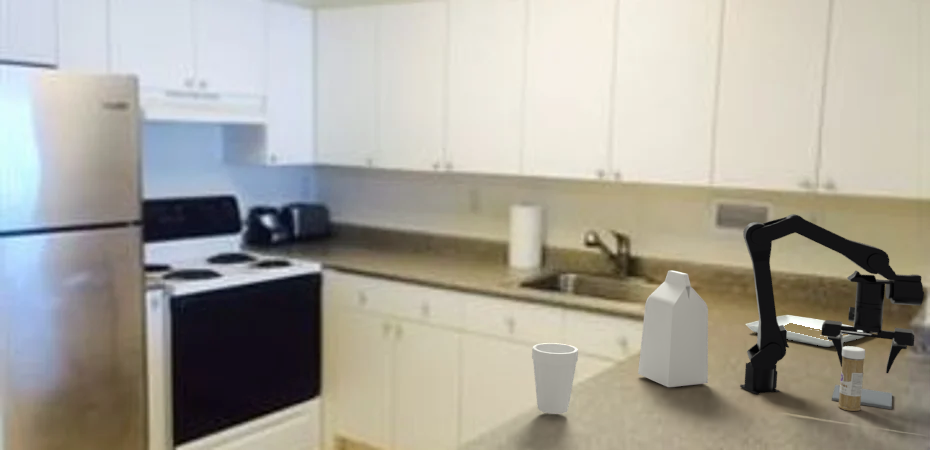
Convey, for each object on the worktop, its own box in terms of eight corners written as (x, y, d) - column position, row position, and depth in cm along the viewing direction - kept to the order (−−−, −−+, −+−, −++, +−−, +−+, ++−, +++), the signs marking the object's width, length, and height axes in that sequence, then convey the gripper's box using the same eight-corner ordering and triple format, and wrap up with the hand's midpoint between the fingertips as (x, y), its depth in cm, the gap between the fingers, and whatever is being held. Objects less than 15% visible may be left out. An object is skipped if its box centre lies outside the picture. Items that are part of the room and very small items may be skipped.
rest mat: (891, 409, 180) (891, 406, 180) (831, 400, 186) (831, 397, 186) (891, 395, 191) (892, 393, 191) (835, 387, 197) (835, 384, 197)
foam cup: (584, 412, 172) (587, 350, 171) (549, 418, 167) (552, 355, 166) (555, 399, 180) (558, 341, 179) (521, 405, 175) (523, 345, 174)
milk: (638, 373, 204) (643, 269, 201) (676, 370, 208) (681, 268, 206) (668, 387, 193) (674, 277, 190) (707, 383, 197) (713, 275, 195)
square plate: (831, 353, 233) (832, 339, 232) (742, 335, 253) (743, 322, 253) (872, 340, 251) (873, 328, 250) (786, 324, 271) (787, 312, 271)
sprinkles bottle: (833, 405, 182) (838, 345, 181) (853, 405, 183) (857, 345, 181) (845, 412, 178) (849, 350, 176) (865, 411, 178) (869, 350, 177)
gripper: (915, 301, 189) (910, 368, 191) (827, 292, 198) (822, 356, 199) (916, 309, 179) (911, 379, 181) (823, 299, 188) (818, 366, 189)
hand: (864, 369), depth 188 cm, fingers open, 9 cm apart
